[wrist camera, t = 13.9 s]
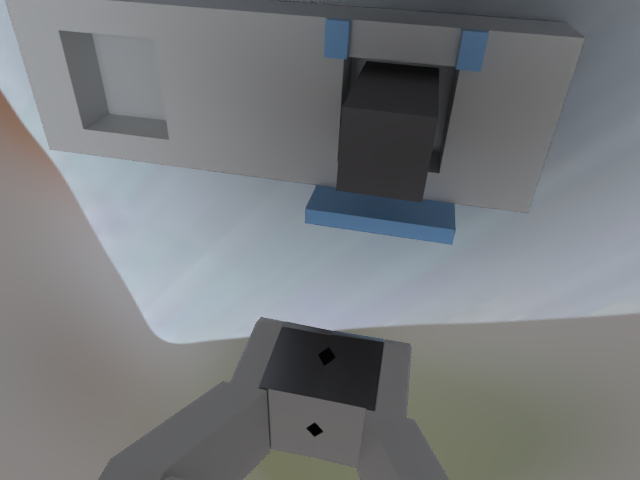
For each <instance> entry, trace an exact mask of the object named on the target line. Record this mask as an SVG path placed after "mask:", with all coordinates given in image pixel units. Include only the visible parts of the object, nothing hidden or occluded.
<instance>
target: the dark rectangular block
mask: <svg viewBox="0 0 640 480" xmlns="http://www.w3.org/2000/svg"><path fill="white" fill-rule="evenodd" d="M438 110H439V68H432V67H422V66H412V65H403V64H393V63H383V62H373V61H366V63H365V64H364V66H363V68H362V70H361V72H360V74H359V76H358V78H357V80H356V81H355V83H354V85H353V87H352V89H351V91H350V93H349V95H348V97H347V98H346V100H345V102H344V104H343V106H342V115H341V129H340V142H339V156H338V170H337V184H336V191H343V192H350V193H357V194H364V195H371V196H378V197H385V198H392V199H399V200H406V201H414V202H421V203H422V201H423V195H424V190H425V185H426V180H427V175H428V169H429V164H430V159H431V154H432V148H433V143H434V138H435V133H436V128H437V122H438Z"/></svg>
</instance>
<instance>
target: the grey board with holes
mask: <svg viewBox="0 0 640 480" xmlns="http://www.w3.org/2000/svg"><path fill="white" fill-rule="evenodd" d="M5 2H6V6H7V9H8V12H9V16H10V19H11V22H12V25H13V29H14V32H15V35H16V39H17V42H18V45H19V49H20V52H21V55H22V59H23V62H24V65H25V69H26V72H27V75H28V79H29V82H30V85H31V88H32V92H33V95H34V98H35V102H36V105H37V108H38V112H39V115H40V118H41V122H42V125H43V128H44V132H45V135H46V138H47V142H48V145H49V148H50V150H57V151H65V152H72V153H80V154H87V155H95V156H102V157H110V158H117V159H125V160H132V161H140V162H147V163H155V164H162V165H170V166H177V167H185V168H192V169H200V170H207V171H215V172H222V173H230V174H237V175H245V176H252V177H260V178H267V179H275V180H282V181H290V182H297V183H305V184H312V185H316V188H315V190H314V192H313V194H312V196H311V198H310V200H309V203H308V205H307V207H306V210H305V223H308V224H315V225H322V226H329V227H336V228H342V229H349V230H356V231H363V232H370V233H377V234H383V235H390V236H397V237H404V238H411V239H418V240H424V241H431V242H438V243H445V244H452V243H453V238H454V234H455V209H454V204H462V205H469V206H477V207H484V208H492V209H499V210H507V211H514V212H522V213H528V211H529V208H530V205H531V202H532V199H533V196H534V193H535V190H536V187H537V184H538V181H539V178H540V175H541V172H542V169H543V166H544V163H545V160H546V157H547V154H548V151H549V148H550V145H551V142H552V138H553V135H554V132H555V129H556V126H557V123H558V120H559V117H560V114H561V111H562V108H563V105H564V102H565V99H566V96H567V93H568V90H569V87H570V84H571V81H572V78H573V75H574V72H575V69H576V66H577V63H578V60H579V57H580V54H581V51H582V48H583V45H584V42H585V39H586V38H585V37H584V36H582V35H581V34H580V33H579V32H578V31H576V30H575V29H574V28H573V27H572V26H570V25H569V24H568V23H567V22H553V21H540V20H527V19H514V18H500V17H487V16H474V15H460V14H447V13H434V12H420V11H407V10H394V9H381V8H367V7H354V6H341V5H327V4H314V3H301V2H288V1H274V0H5ZM366 61H373V62H383V63H393V64H403V65H412V66H422V67H432V68H439V110H438V122H437V128H436V133H435V138H434V143H433V148H432V154H431V159H430V164H429V169H428V175H427V180H426V185H425V190H424V195H423V201H422V203H421V202H414V201H406V200H399V199H392V198H385V197H378V196H371V195H364V194H357V193H350V192H343V191H336V184H337V170H338V156H339V142H340V129H341V115H342V106H343V104H344V102H345V100H346V98H347V97H348V95H349V93H350V91H351V89H352V87H353V85H354V83H355V81H356V80H357V78H358V76H359V74H360V72H361V70H362V68H363V66H364V64H365V63H366Z"/></svg>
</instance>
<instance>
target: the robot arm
mask: <svg viewBox="0 0 640 480" xmlns="http://www.w3.org/2000/svg"><path fill="white" fill-rule="evenodd" d="M410 362H411V345H410V344H408V343H403V342H397V341H391V340H384V339H381V338H375V337H368V336H363V335H357V334H351V333H344V332H339V331H330V330H325V329H320V328H315V327H310V326H305V325H300V324H295V323H290V322H284V321H279V320H274V319H268V318H263V317H261V318H260V319H259V320H258V321H257V322H256V324H255V327H254V329H253V331H252V333H251V336H250V338H249V340H248V342H247V345H246V347H245V349H244V352H243V354H242V356H241V358H240V361H239V363H238V365H237V367H236V370H235V372H234V374H233V376H232V379H231V381H230V382H224V381H222V382H221V383H219V384H218V385H216V386H215V387H213V388H212V389H210V390H209V391H208V392H206V393H205V394H203V395H202V396H200V397H199V398H198V399H196V400H195V401H193V402H192V403H190V404H189V405H187V406H186V407H185V408H183V409H182V410H180V411H179V412H177V413H176V414H175V415H173V416H172V417H170V418H169V419H167V420H166V421H164V422H163V423H162V424H160V425H159V426H157V427H156V428H154V429H153V430H152V431H150V432H149V433H147V434H146V435H144V436H143V437H141V438H140V439H139V440H137V441H136V442H134V443H133V444H131V445H130V446H129V447H127V448H126V449H124V450H123V451H121V452H120V453H119V454H117V455H116V456H114V457H113V458H111V459H110V461H109V462H108V464H107V466H106V467H105V469H104V471H103V472H102V474H101V476H100V477H99V479H98V480H243V478H244V477H246V475H248V474H249V473H250V471H252V470H253V469H254V468H255V467H256V465H258V463H259V462H260V461H261V460H262V459H263V458H264V457H265V456H266V455H267V454H268V453H269V452H270V449H273V450H278V451H283V452H289V453H294V454H299V455H304V456H310V457H315V458H318V459H323V460H327V461H331V462H335V463H339V464H343V465H347V466H351V467H355V468H357V472H358V474H359V477H360V480H449V478H448V476H447V474H446V473H445V471H444V469H443V468H442V466H441V464H440V462H439V461H438V459H437V457H436V455H435V454H434V452H433V450H432V449H431V447H430V445H429V443H428V442H427V440H426V438H425V436H424V435H423V433H422V431H421V430H420V428H419V426H418V424H417V423H416V421H415V420H414V419H409V418H407V406H408V391H409V377H410Z"/></svg>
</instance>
